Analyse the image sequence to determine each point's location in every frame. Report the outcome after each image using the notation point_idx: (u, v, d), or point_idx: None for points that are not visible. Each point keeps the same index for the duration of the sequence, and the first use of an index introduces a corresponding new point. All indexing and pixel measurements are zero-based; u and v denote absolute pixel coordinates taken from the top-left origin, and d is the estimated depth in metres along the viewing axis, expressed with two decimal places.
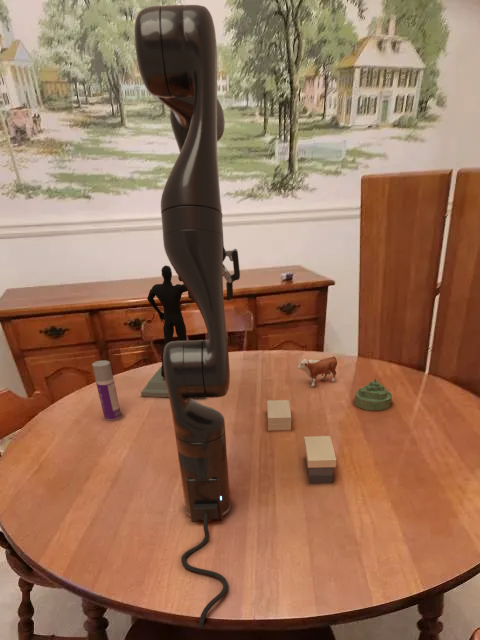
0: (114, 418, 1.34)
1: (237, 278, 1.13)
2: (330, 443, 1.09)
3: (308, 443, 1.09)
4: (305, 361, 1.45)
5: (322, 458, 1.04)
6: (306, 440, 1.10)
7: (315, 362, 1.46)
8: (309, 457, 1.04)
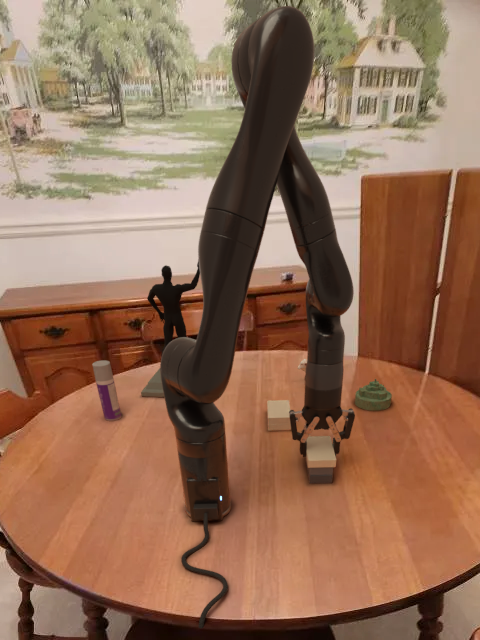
0: (114, 418, 1.34)
1: (346, 437, 1.05)
2: (330, 443, 1.09)
3: (308, 443, 1.09)
4: (305, 361, 1.45)
5: (322, 458, 1.04)
6: (306, 440, 1.10)
7: None
8: (309, 457, 1.04)
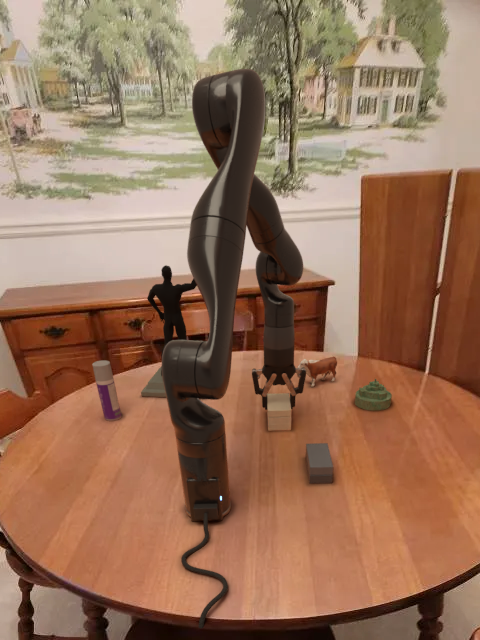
0: (114, 418, 1.34)
1: (300, 392, 1.25)
2: (288, 398, 1.29)
3: (269, 398, 1.30)
4: (305, 361, 1.45)
5: (279, 409, 1.24)
6: (268, 396, 1.31)
7: (315, 362, 1.46)
8: (269, 408, 1.25)
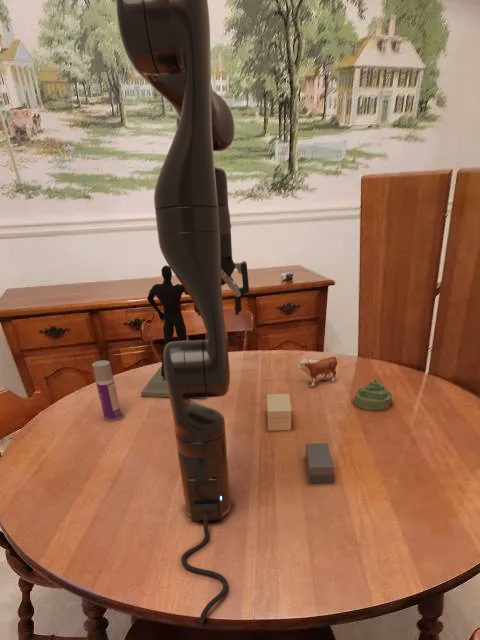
0: (114, 418, 1.34)
1: (246, 291, 1.08)
2: (288, 399, 1.29)
3: (269, 399, 1.30)
4: (305, 361, 1.45)
5: (279, 410, 1.24)
6: (268, 397, 1.31)
7: (315, 362, 1.46)
8: (269, 409, 1.25)
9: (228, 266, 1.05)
